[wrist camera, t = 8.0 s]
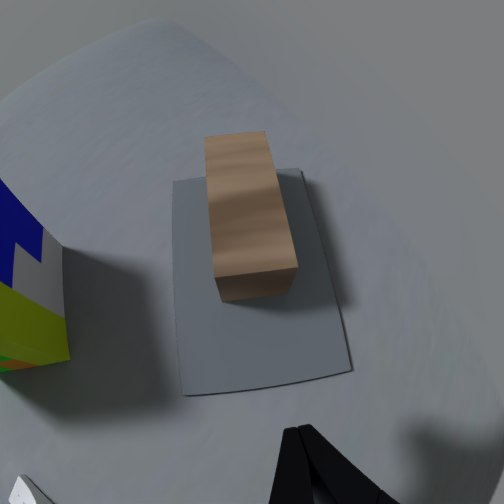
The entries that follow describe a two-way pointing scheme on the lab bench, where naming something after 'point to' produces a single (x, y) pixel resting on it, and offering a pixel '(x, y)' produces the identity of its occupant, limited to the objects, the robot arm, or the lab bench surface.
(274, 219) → the walnut block
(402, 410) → the lab bench surface
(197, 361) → the slate mat
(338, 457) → the robot arm
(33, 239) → the puzzle toy
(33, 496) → the headphone stand
